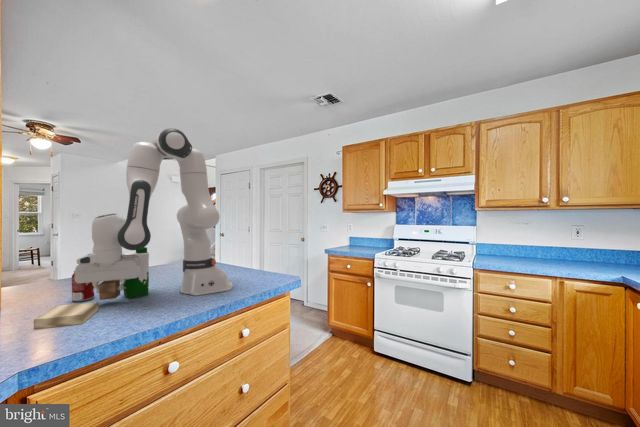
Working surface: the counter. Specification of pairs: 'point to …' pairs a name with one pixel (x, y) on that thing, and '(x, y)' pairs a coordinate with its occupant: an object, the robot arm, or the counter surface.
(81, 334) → the counter surface
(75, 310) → the maple plinth
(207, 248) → the robot arm
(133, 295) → the milk carton
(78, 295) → the soda can
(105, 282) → the walnut block
